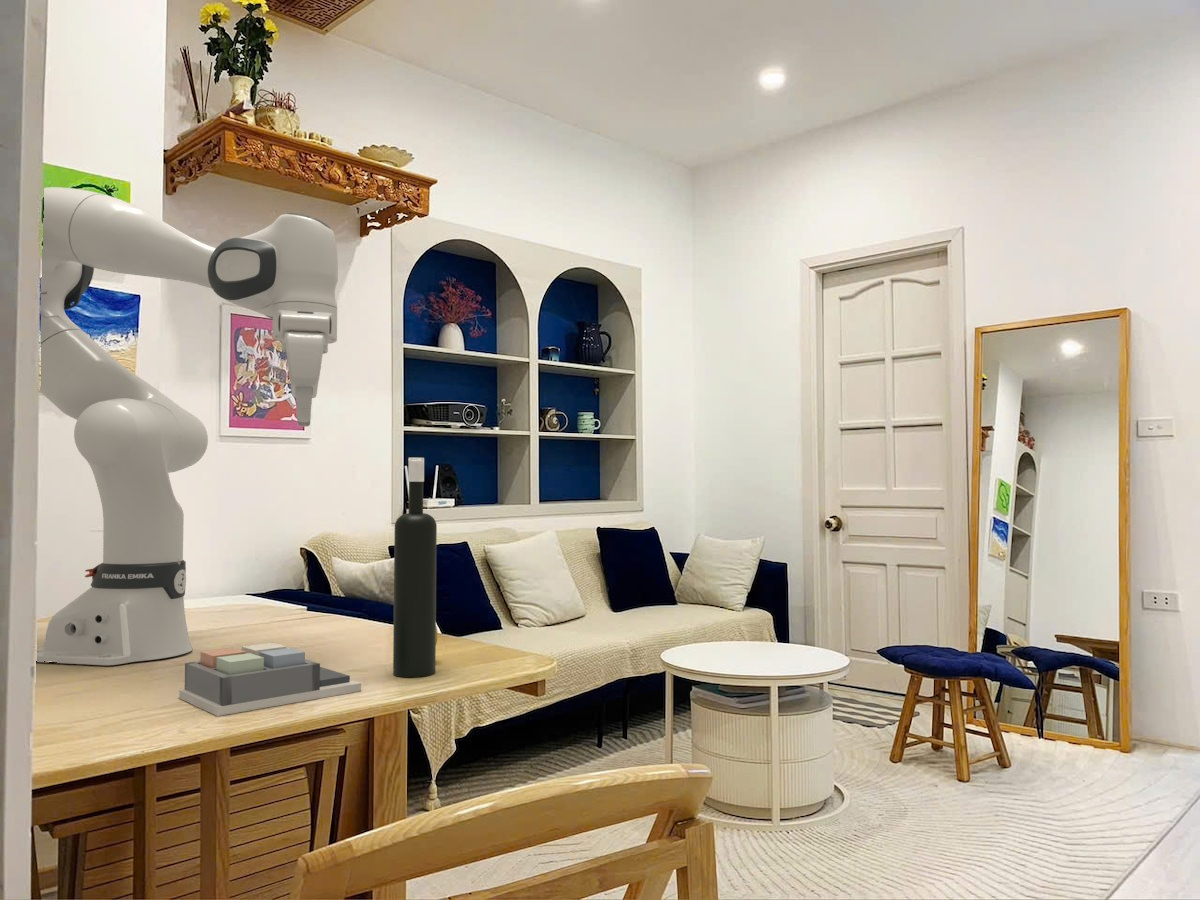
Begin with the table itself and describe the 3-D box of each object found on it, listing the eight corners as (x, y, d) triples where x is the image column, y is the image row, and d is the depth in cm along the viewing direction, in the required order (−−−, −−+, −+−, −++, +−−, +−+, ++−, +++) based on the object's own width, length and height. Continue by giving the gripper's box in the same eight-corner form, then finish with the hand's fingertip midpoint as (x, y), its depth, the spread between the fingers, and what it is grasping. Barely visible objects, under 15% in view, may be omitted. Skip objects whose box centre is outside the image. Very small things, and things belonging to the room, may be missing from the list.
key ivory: (254, 668, 111) (255, 650, 112) (241, 663, 114) (241, 646, 114) (285, 664, 114) (286, 646, 114) (272, 659, 117) (272, 642, 117)
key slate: (273, 674, 108) (273, 656, 108) (259, 669, 111) (259, 651, 111) (304, 670, 110) (305, 652, 111) (290, 665, 113) (290, 647, 113)
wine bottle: (433, 668, 129) (435, 458, 130) (437, 676, 123) (439, 457, 124) (392, 670, 127) (394, 458, 128) (394, 678, 121) (396, 456, 123)
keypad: (217, 716, 102) (218, 678, 102) (179, 698, 110) (179, 663, 110) (361, 690, 114) (361, 657, 114) (316, 676, 123) (316, 645, 123)
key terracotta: (212, 674, 108) (213, 656, 108) (200, 669, 111) (200, 651, 111) (245, 669, 111) (246, 651, 111) (232, 665, 113) (232, 647, 114)
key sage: (229, 681, 104) (230, 662, 104) (216, 676, 107) (216, 657, 107) (263, 676, 107) (263, 657, 107) (249, 671, 110) (249, 653, 110)
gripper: (283, 338, 138) (282, 428, 137) (280, 313, 119) (278, 418, 118) (326, 340, 140) (325, 429, 139) (329, 316, 121) (328, 419, 120)
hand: (303, 424), depth 129 cm, fingers open, 8 cm apart
